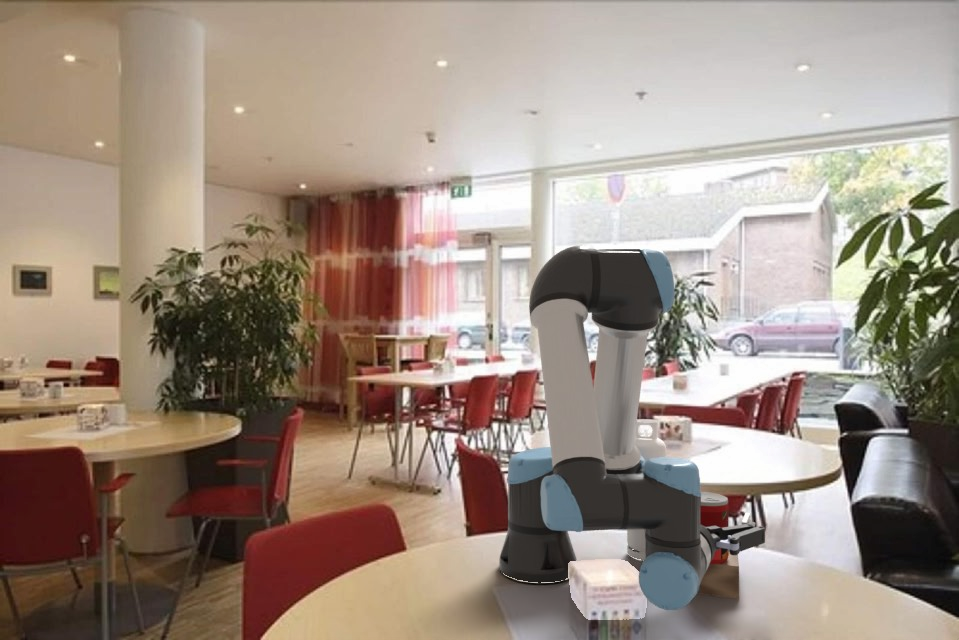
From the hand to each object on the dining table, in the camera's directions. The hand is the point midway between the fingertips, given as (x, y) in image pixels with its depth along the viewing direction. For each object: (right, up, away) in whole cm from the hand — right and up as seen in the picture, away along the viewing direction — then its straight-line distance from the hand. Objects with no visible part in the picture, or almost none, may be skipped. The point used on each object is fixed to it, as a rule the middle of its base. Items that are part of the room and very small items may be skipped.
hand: (708, 515), depth 119 cm
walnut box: (0, -14, +4) cm, 14 cm away
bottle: (-7, -14, +17) cm, 23 cm away
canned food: (-1, -8, 0) cm, 8 cm away
